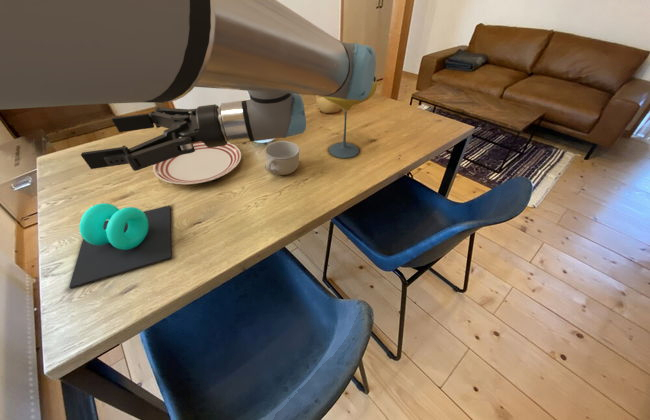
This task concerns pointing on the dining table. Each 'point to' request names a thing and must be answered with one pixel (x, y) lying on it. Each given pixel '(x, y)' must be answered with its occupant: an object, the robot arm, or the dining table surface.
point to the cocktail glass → (345, 148)
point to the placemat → (125, 251)
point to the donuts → (114, 226)
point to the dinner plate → (199, 164)
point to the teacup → (282, 157)
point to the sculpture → (327, 105)
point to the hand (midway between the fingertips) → (102, 141)
